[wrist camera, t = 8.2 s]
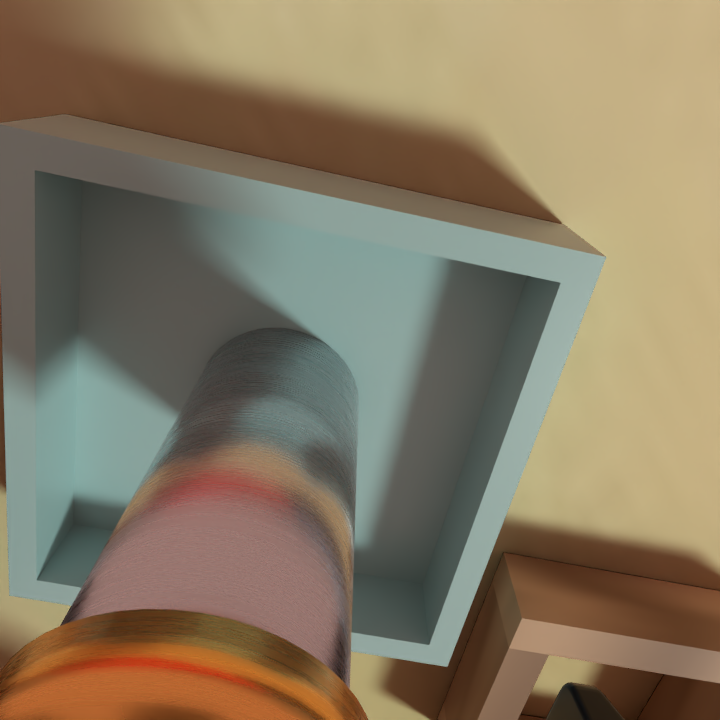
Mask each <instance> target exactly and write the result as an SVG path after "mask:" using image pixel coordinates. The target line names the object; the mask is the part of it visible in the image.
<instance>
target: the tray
mask: <svg viewBox="0 0 720 720" xmlns="http://www.w3.org/2000/svg"><path fill="white" fill-rule="evenodd" d="M605 259H606V256H604V255H603V254H602V253H600V252H599V251H598V250H596V249H595V248H594V247H593V246H591V245H590V244H589V243H587V242H586V241H585V240H584V239H582V238H581V237H580V236H578V235H577V234H576V233H574V232H573V231H572V230H571V229H569V228H568V227H567V226H565V225H563V224H559V223H554V222H550V221H545V220H541V219H536V218H532V217H527V216H523V215H518V214H514V213H509V212H505V211H500V210H496V209H491V208H487V207H482V206H478V205H473V204H469V203H464V202H460V201H455V200H451V199H446V198H442V197H437V196H432V195H428V194H423V193H419V192H414V191H410V190H405V189H401V188H396V187H392V186H387V185H383V184H378V183H374V182H369V181H365V180H360V179H356V178H351V177H347V176H342V175H338V174H333V173H329V172H324V171H320V170H315V169H311V168H306V167H302V166H297V165H293V164H288V163H284V162H279V161H275V160H270V159H266V158H261V157H257V156H252V155H248V154H243V153H239V152H234V151H230V150H225V149H221V148H216V147H212V146H207V145H203V144H198V143H194V142H189V141H185V140H180V139H176V138H171V137H167V136H162V135H158V134H153V133H149V132H144V131H140V130H135V129H131V128H126V127H122V126H117V125H113V124H108V123H104V122H99V121H95V120H90V119H86V118H81V117H77V116H72V115H67V114H62V115H55V116H47V117H40V118H32V119H25V120H17V121H10V122H2V123H0V284H1V319H2V354H3V388H4V423H5V458H6V493H7V528H8V563H9V596H15V597H22V598H28V599H34V600H40V601H46V602H52V603H58V604H64V605H71V606H72V604H73V602H74V600H75V599H76V597H77V595H78V593H79V591H80V590H81V588H82V586H83V584H84V583H85V581H86V579H87V577H88V575H89V574H90V572H91V570H92V568H93V566H94V565H95V563H96V561H97V559H98V558H99V556H100V554H101V552H102V550H103V549H104V547H105V545H106V543H107V542H108V540H109V538H110V536H111V534H112V533H113V531H114V529H115V527H116V525H117V524H118V522H119V520H120V518H121V517H122V515H123V513H124V511H125V509H126V508H127V506H128V504H129V502H130V500H131V499H132V497H133V495H134V493H135V492H136V490H137V488H138V486H139V484H140V483H141V481H142V479H143V477H144V476H145V474H146V472H147V470H148V468H149V467H150V465H151V463H152V461H153V459H154V458H155V456H156V454H157V452H158V451H159V449H160V447H161V445H162V443H163V442H164V440H165V438H166V436H167V434H168V433H169V431H170V429H171V427H172V426H173V424H174V422H175V420H176V418H177V417H178V415H179V413H180V411H181V410H182V408H183V406H184V404H185V402H186V401H187V399H188V397H189V395H190V393H191V392H192V390H193V388H194V386H195V385H196V383H197V381H198V379H199V377H200V376H201V374H202V372H203V370H204V369H205V367H206V365H207V363H208V361H209V360H210V358H211V357H212V356H213V355H214V353H215V352H216V351H217V350H218V349H219V348H220V347H221V346H222V345H224V344H225V343H226V342H228V341H229V340H231V339H233V338H234V337H236V336H238V335H240V334H243V333H246V332H248V331H252V330H256V329H262V328H286V329H293V330H297V331H300V332H304V333H306V334H309V335H311V336H314V337H316V338H317V339H319V340H321V341H323V342H324V343H326V344H327V345H328V346H330V347H331V348H332V349H333V350H334V351H336V352H337V353H338V354H339V355H340V356H341V358H342V359H343V360H344V361H345V362H346V364H347V366H348V367H349V369H350V370H351V372H352V375H353V377H354V379H355V382H356V385H357V389H358V395H359V418H358V448H357V479H356V510H355V541H354V571H353V602H352V633H351V651H353V652H359V653H365V654H371V655H377V656H383V657H389V658H396V659H402V660H408V661H414V662H420V663H426V664H432V665H439V666H445V667H447V666H448V664H449V661H450V659H451V656H452V653H453V651H454V648H455V646H456V643H457V641H458V638H459V635H460V633H461V630H462V628H463V625H464V622H465V620H466V617H467V615H468V612H469V610H470V607H471V604H472V602H473V599H474V597H475V594H476V592H477V589H478V586H479V584H480V581H481V579H482V576H483V573H484V571H485V568H486V566H487V563H488V561H489V558H490V555H491V553H492V550H493V548H494V545H495V543H496V540H497V537H498V535H499V532H500V530H501V527H502V525H503V522H504V519H505V517H506V514H507V512H508V509H509V506H510V504H511V501H512V499H513V496H514V494H515V491H516V488H517V486H518V483H519V481H520V478H521V476H522V473H523V470H524V468H525V465H526V463H527V460H528V457H529V455H530V452H531V450H532V447H533V445H534V442H535V439H536V437H537V434H538V432H539V429H540V427H541V424H542V421H543V419H544V416H545V414H546V411H547V408H548V406H549V403H550V401H551V398H552V396H553V393H554V390H555V388H556V385H557V383H558V380H559V378H560V375H561V372H562V370H563V367H564V365H565V362H566V359H567V357H568V354H569V352H570V349H571V347H572V344H573V341H574V339H575V336H576V334H577V331H578V329H579V326H580V323H581V321H582V318H583V316H584V313H585V310H586V308H587V305H588V303H589V300H590V298H591V295H592V292H593V290H594V287H595V285H596V282H597V280H598V277H599V274H600V272H601V269H602V267H603V264H604V261H605Z"/></svg>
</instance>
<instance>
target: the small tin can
mask: <svg viewBox="0 0 720 720" xmlns="http://www.w3.org/2000/svg"><path fill="white" fill-rule="evenodd" d="M358 418H359V395H358V389H357V385H356V382H355V379H354V377H353V375H352V372H351V370H350V369H349V367H348V366H347V364H346V362H345V361H344V360H343V359H342V358H341V356H340V355H339V354H338V353H337V352H336V351H334V350H333V349H332V348H331V347H330V346H328V345H327V344H326V343H324V342H323V341H321V340H319V339H317V338H316V337H314V336H311V335H309V334H306V333H304V332H300V331H297V330H293V329H286V328H262V329H256V330H252V331H248V332H246V333H243V334H240V335H238V336H236V337H234V338H233V339H231V340H229V341H228V342H226V343H225V344H224V345H222V346H221V347H220V348H219V349H218V350H217V351H216V352H215V353H214V355H213V356H212V357H211V358H210V360H209V361H208V363H207V365H206V367H205V369H204V370H203V372H202V374H201V376H200V377H199V379H198V381H197V383H196V385H195V386H194V388H193V390H192V392H191V393H190V395H189V397H188V399H187V401H186V402H185V404H184V406H183V408H182V410H181V411H180V413H179V415H178V417H177V418H176V420H175V422H174V424H173V426H172V427H171V429H170V431H169V433H168V434H167V436H166V438H165V440H164V442H163V443H162V445H161V447H160V449H159V451H158V452H157V454H156V456H155V458H154V459H153V461H152V463H151V465H150V467H149V468H148V470H147V472H146V474H145V476H144V477H143V479H142V481H141V483H140V484H139V486H138V488H137V490H136V492H135V493H134V495H133V497H132V499H131V500H130V502H129V504H128V506H127V508H126V509H125V511H124V513H123V515H122V517H121V518H120V520H119V522H118V524H117V525H116V527H115V529H114V531H113V533H112V534H111V536H110V538H109V540H108V542H107V543H106V545H105V547H104V549H103V550H102V552H101V554H100V556H99V558H98V559H97V561H96V563H95V565H94V566H93V568H92V570H91V572H90V574H89V575H88V577H87V579H86V581H85V583H84V584H83V586H82V588H81V590H80V591H79V593H78V595H77V597H76V599H75V600H74V602H73V604H72V606H71V608H70V609H69V611H68V613H67V615H66V616H65V618H64V620H63V622H62V624H61V625H60V627H57V628H55V629H53V630H51V631H49V632H46V633H44V634H43V635H41V636H39V637H38V638H36V639H35V640H33V641H32V642H30V643H28V644H27V645H25V646H24V647H23V648H22V649H21V650H20V651H19V652H18V653H16V654H15V655H14V656H13V657H12V658H11V659H10V660H9V661H8V663H7V664H6V665H5V666H4V668H3V669H2V670H1V672H0V720H368V718H367V716H366V713H365V712H364V710H363V708H362V707H361V705H360V703H359V701H358V700H357V698H356V697H355V695H354V694H353V693H352V692H351V690H350V663H351V633H352V602H353V571H354V541H355V510H356V479H357V448H358Z"/></svg>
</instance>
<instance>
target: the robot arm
mask: <svg viewBox="0 0 720 720" xmlns="http://www.w3.org/2000/svg"><path fill="white" fill-rule="evenodd" d="M546 720H625V719H624V718H623V717H622V716H621V714H620V713H619V712H618V711H617V710H616V708H615V707H614V706H613V705H612V704H611V702H610V701H609V700H608V699H607V698H606V696H605V695H604V694H603V693H602V692H601V691H600V690H599V689H597V688H596V687H594V686H590V685H584V684H578V683H572V682H570V683H567V684H565V685H564V686H563V687H562V688H561V690H560V692H559V694H558V696H557V698H556V700H555V702H554V704H553V706H552V708H551V710H550V712H549V714H548V716H547V718H546Z"/></svg>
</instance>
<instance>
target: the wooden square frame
mask: <svg viewBox="0 0 720 720" xmlns="http://www.w3.org/2000/svg"><path fill="white" fill-rule="evenodd" d="M548 655H553V656H559V657H565V658H571V659H577V660H583V661H589V662H595V663H601V664H607V665H613V666H619V667H625V668H631V669H637V670H643V671H649V672H655V673H661V674H664V676H663V678H662V679H661V681H660V683H659V684H658V686H657V688H656V689H655V691H654V693H653V694H652V696H651V698H650V699H649V701H648V703H647V704H646V706H645V708H644V709H643V711H642V713H641V714H640V716H639V718H638V719H637V720H720V591H716V590H711V589H705V588H699V587H694V586H688V585H683V584H677V583H671V582H666V581H660V580H655V579H649V578H643V577H638V576H632V575H627V574H621V573H615V572H610V571H604V570H599V569H593V568H587V567H582V566H576V565H571V564H565V563H559V562H554V561H548V560H543V559H537V558H532V557H526V556H520V555H515V554H509V553H503V555H502V558H501V560H500V563H499V565H498V568H497V570H496V573H495V575H494V578H493V580H492V583H491V585H490V588H489V590H488V593H487V595H486V598H485V600H484V603H483V605H482V608H481V610H480V613H479V616H478V618H477V621H476V623H475V626H474V628H473V631H472V633H471V636H470V638H469V641H468V643H467V646H466V648H465V651H464V653H463V656H462V658H461V661H460V663H459V666H458V668H457V671H456V673H455V676H454V678H453V681H452V683H451V686H450V688H449V691H448V693H447V696H446V698H445V701H444V703H443V706H442V708H441V711H440V713H439V716H438V719H437V720H546V719H545V718H539V717H532V716H526V715H520V714H521V712H522V710H523V708H524V705H525V703H526V701H527V699H528V697H529V695H530V693H531V691H532V689H533V687H534V685H535V682H536V680H537V678H538V676H539V674H540V672H541V670H542V668H543V666H544V664H545V662H546V660H547V657H548Z"/></svg>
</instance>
